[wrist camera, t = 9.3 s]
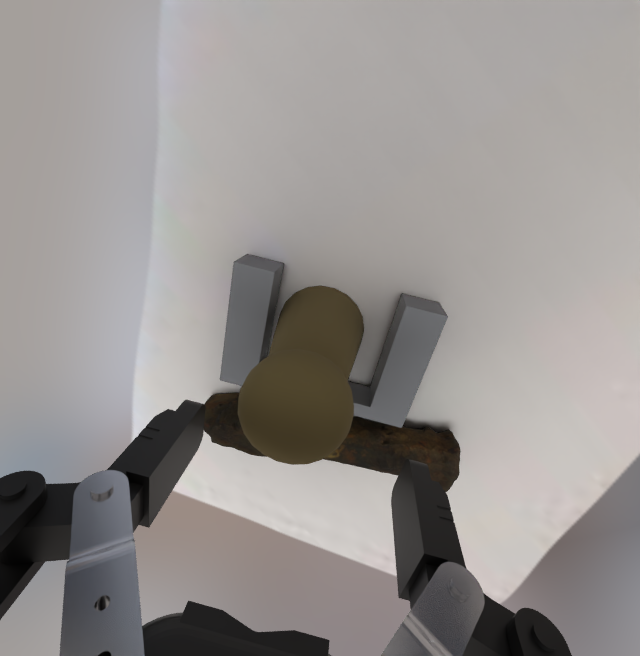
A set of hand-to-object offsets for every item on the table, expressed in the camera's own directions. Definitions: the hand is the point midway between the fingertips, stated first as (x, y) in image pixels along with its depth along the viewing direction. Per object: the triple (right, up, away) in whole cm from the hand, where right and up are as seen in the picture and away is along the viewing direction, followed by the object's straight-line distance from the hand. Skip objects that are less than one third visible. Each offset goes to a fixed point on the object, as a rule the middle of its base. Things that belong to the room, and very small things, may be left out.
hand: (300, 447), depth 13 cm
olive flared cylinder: (+1, +5, +11) cm, 12 cm away
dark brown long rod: (+1, -3, +14) cm, 15 cm away
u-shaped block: (+1, +4, +11) cm, 12 cm away
